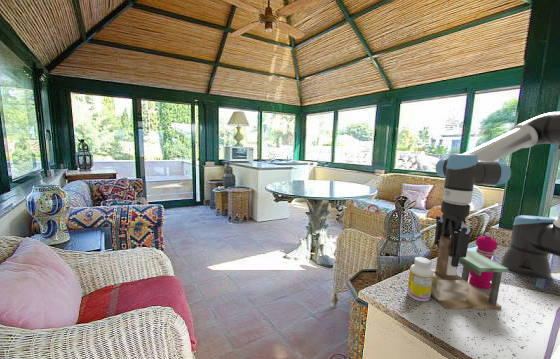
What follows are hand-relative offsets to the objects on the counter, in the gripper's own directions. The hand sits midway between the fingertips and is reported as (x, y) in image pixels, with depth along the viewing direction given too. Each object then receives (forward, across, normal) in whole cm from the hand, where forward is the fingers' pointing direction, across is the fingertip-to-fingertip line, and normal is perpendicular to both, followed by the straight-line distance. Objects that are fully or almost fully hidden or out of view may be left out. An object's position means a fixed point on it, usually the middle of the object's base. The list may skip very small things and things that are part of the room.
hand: (445, 270), depth 84 cm
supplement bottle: (+9, +1, -9) cm, 13 cm away
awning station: (+9, 0, +5) cm, 10 cm away
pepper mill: (+9, -7, +19) cm, 22 cm away
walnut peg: (+4, 0, 0) cm, 4 cm away
